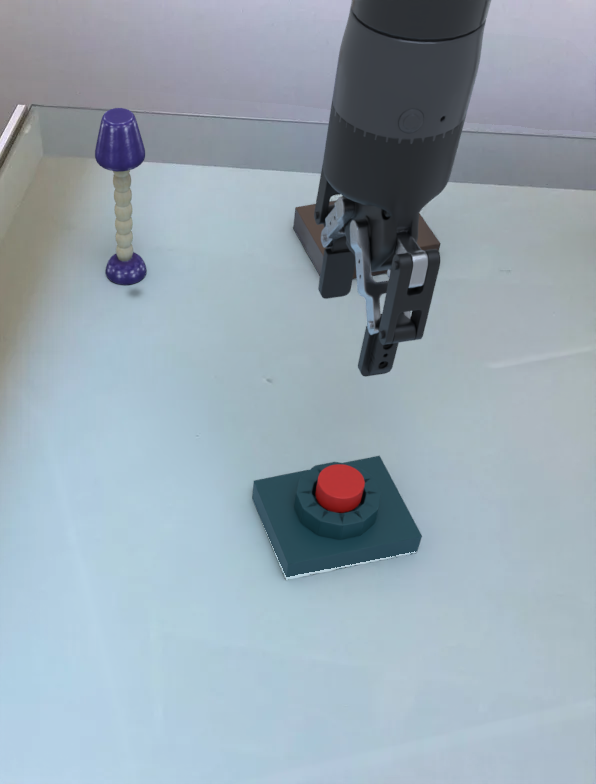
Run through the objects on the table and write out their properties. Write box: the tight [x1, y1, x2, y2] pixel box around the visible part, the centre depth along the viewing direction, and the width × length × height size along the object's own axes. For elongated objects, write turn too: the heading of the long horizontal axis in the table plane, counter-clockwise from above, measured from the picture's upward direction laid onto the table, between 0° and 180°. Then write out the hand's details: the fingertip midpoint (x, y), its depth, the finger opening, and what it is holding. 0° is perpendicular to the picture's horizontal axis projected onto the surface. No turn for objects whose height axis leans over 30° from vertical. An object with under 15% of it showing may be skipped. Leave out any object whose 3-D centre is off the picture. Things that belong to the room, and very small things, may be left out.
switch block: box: [251, 455, 423, 577], centre depth 77 cm, size 11×9×4 cm
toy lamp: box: [94, 107, 147, 286], centre depth 92 cm, size 5×5×17 cm
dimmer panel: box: [292, 199, 442, 280], centre depth 99 cm, size 12×10×3 cm
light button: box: [315, 464, 365, 513], centre depth 75 cm, size 4×4×2 cm
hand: (352, 331), depth 67 cm, fingers open, 8 cm apart
